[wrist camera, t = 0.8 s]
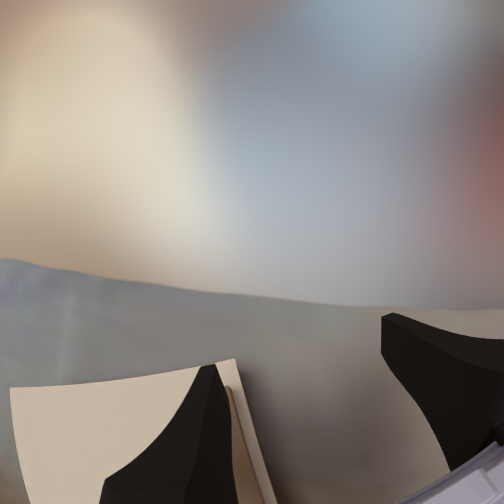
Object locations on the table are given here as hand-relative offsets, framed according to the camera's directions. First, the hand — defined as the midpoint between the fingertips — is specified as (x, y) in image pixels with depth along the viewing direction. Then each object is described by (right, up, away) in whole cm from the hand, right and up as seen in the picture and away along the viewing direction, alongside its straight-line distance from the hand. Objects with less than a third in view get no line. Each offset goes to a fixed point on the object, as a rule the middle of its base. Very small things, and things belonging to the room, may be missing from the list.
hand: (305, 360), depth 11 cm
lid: (-11, -11, +3) cm, 16 cm away
